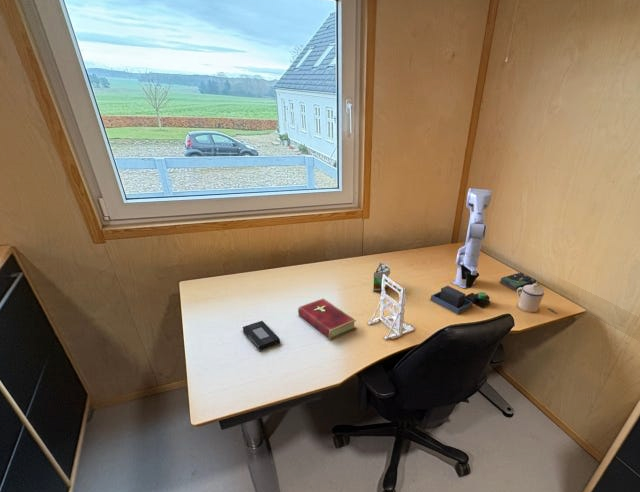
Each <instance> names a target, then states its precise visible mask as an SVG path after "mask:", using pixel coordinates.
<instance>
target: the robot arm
mask: <svg viewBox="0 0 640 492" xmlns="http://www.w3.org/2000/svg"><path fill="white" fill-rule="evenodd" d="M492 191H493V190H491V189H482V188H472V187H470V188H469V189H468V192H467V196H466V203H465V205H466V208H467V209H469V213H470V215H469V219H468V226H467V232H466V238H465V244H464V245H463V246H462V247H460V248H459V249H458V250H457V254H456V259H455V265H456V266H457V270H456V276H455V280H453V281H451V283H452V284H453V285H455V286H457V287H460V288H462V289H472V287H473V286H474V285H475V284H476V282H475V281H476V280H477V278H479V276H480V273H479V272H478V266H479V264H478V263H479V258H480V253H481V249H482V245H483V240H484V239H485V237H486V233H487V223H486V213H485V212H484V211H485V210H487V209H488V207H489V205H490V203H491V199H492V195H493V192H492Z"/></svg>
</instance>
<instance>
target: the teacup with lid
mask: <svg viewBox="0 0 640 492" xmlns="http://www.w3.org/2000/svg"><path fill="white" fill-rule="evenodd" d="M520 290H521V292H520ZM520 293H521V294H520ZM516 295H517V297H518V298H519V300H518V304H517V306H518V308H519V309H520V310H522V311H524V312H527V313H536V312H538V311H539V309H540V305H541V304H542V303H541V302H542V300H543V297H544V295H545V290H544V289H543V288H542V287H540V286H538V283H536V284H535V283H534V284H533V285H525V286H524V287H523V288H522V287H520V288H518V289H517V290H516Z"/></svg>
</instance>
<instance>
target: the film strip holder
mask: <svg viewBox="0 0 640 492" xmlns="http://www.w3.org/2000/svg"><path fill="white" fill-rule="evenodd" d="M385 279H386V280H388V281H387V282H386V281H385ZM390 283H391V284H390ZM386 284H387V286H388V287H389V288H391V289H392V290H394V291H395V292H396V293H397V294H398V297H399V301H398V302H397V301H396V300H395V299H393V297H391V296H389V295H388V294H387V292H386V290H385V286H386ZM394 286H395V287H396V288H395V287H394ZM406 298H407V295H406V288H405V287H402V286H401V285H400V284H398V283H397V282H395V281H394V280H392V278H390V277H389V276H388V277H387V276H385V274H383V278H382V292H380V297H379V300H380V301H379V303H378V305H377V307H376V309H375V310H374V313H373V315H372V317H371V319H370V321H368V322H367V323H368V325H369V326H370V325H371V326H372V325H374V324H377V323H379V322H380V321H381V322H382V323H383V324H384V325H385V326H386V327H387V328H389V331H388V333H387V335H385V336H384V340H385V341H386V340H389V339H391V340H394V339H397V338H399V337H402V336H403V335H405V334H408V333H411V332H414V331H415V329H414V327H413V326H412V325H411V324H407V322H404V323H403V321H404V318H405V317H404V316H405V309H404V307H405V306H406ZM385 299H386V300H387V302H386V301H385ZM390 303H391V304H392V307H391V304H390ZM396 308H397V311H396ZM385 309H386V310H387V311H388V312H389V313H391V314H390V315H387V316H385V312H384V310H385ZM378 310H379V317H376V314H377V312H378ZM403 329H404V331H403ZM392 332H393V333H392ZM391 333H392V334H391Z"/></svg>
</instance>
